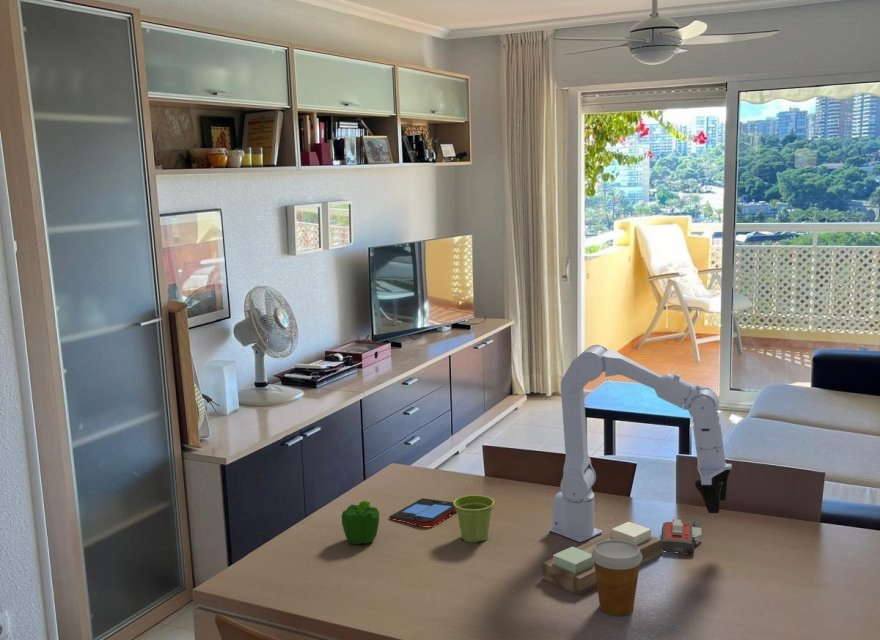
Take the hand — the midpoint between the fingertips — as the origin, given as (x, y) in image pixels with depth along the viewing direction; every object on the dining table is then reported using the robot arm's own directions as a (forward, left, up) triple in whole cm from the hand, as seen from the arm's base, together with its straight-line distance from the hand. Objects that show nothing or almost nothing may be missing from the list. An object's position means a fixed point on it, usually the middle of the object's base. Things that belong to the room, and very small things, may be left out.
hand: (717, 506), depth 186 cm
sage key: (-12, -33, -8) cm, 36 cm away
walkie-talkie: (-9, +1, -11) cm, 14 cm away
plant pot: (-42, -33, -11) cm, 55 cm away
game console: (-61, -32, -11) cm, 70 cm away
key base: (-12, -23, -10) cm, 28 cm away
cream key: (-12, -14, -8) cm, 20 cm away
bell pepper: (-59, -53, -11) cm, 80 cm away
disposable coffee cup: (+1, -36, -11) cm, 37 cm away
